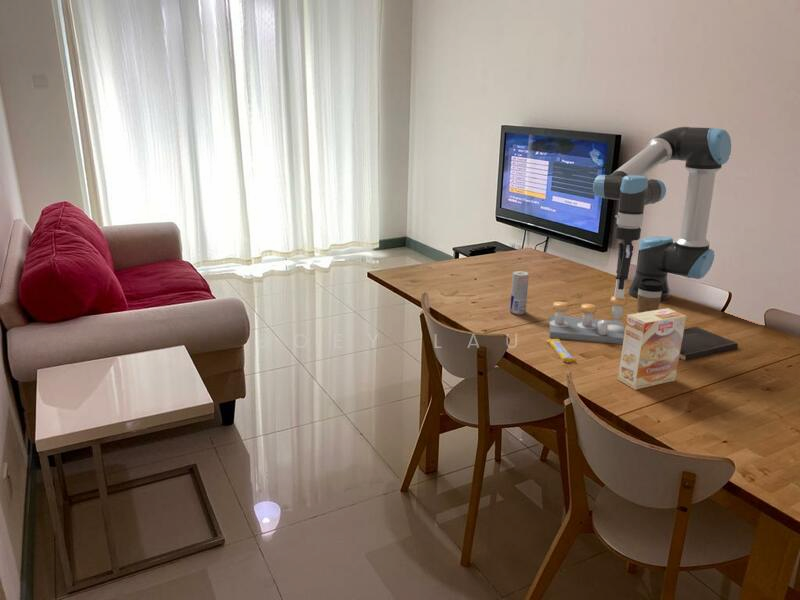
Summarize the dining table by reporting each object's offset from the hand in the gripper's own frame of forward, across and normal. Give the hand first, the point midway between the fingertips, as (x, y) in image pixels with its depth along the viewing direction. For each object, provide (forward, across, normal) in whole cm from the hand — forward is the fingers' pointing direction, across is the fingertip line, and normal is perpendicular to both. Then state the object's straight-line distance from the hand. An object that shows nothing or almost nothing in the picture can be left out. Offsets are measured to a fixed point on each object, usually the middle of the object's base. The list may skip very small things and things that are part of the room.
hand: (618, 297), depth 200 cm
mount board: (+13, 0, -9) cm, 16 cm away
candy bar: (+14, +19, -18) cm, 29 cm away
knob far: (+11, 0, -18) cm, 21 cm away
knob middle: (+11, 0, -9) cm, 14 cm away
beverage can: (+13, -14, -32) cm, 37 cm away
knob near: (+7, 0, 0) cm, 7 cm away
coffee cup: (+13, -15, +12) cm, 23 cm away
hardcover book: (+14, +4, +23) cm, 27 cm away
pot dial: (+11, +6, -4) cm, 13 cm away
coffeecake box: (+13, +34, +5) cm, 37 cm away
